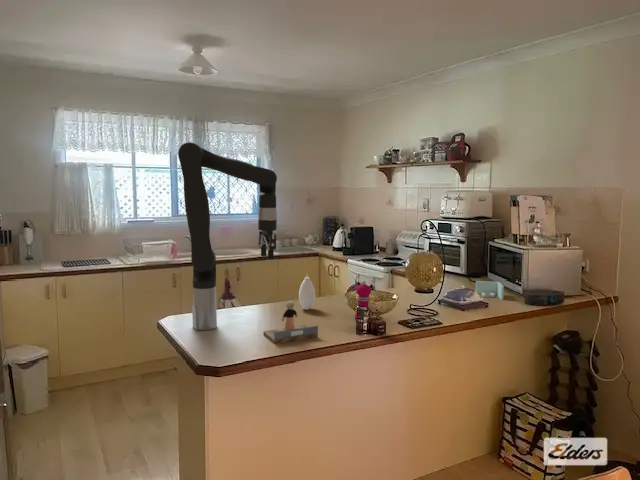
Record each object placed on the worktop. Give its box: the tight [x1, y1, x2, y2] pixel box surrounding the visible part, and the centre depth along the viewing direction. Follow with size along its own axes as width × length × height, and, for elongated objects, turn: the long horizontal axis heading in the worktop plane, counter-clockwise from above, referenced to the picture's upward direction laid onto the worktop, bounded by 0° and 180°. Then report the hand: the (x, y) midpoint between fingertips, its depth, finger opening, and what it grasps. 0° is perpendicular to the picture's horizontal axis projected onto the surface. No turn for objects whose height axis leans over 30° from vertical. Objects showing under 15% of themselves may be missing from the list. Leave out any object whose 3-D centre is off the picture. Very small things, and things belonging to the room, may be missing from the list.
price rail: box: [274, 325, 319, 340], centre depth 185 cm, size 18×1×3 cm, turn 117°
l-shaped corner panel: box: [475, 280, 505, 301], centre depth 257 cm, size 12×12×8 cm
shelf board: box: [262, 324, 319, 345], centre depth 190 cm, size 18×12×2 cm, turn 117°
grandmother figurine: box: [281, 300, 299, 330], centre depth 189 cm, size 8×4×13 cm, turn 144°
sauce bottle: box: [298, 273, 316, 311], centre depth 229 cm, size 8×8×18 cm
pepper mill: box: [354, 280, 372, 322], centre depth 200 cm, size 7×7×20 cm
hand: (267, 257), depth 201 cm, fingers open, 8 cm apart
